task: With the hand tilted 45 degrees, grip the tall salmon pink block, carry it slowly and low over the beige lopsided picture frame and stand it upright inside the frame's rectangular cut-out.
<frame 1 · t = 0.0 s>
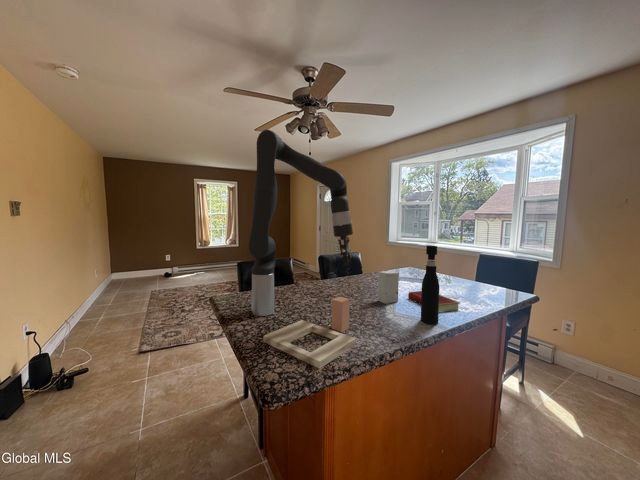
hand: (347, 264, 103), 22 cm above the countertop, tool pointing down, fingers open, 8 cm apart
hardcover book: (432, 305, 124), on the countertop
wine bottle: (429, 322, 102), on the countertop
tall salmon pink block: (340, 328, 95), on the countertop
skincare box: (388, 301, 128), on the countertop
beige lopsided picture frame: (309, 343, 83), on the countertop
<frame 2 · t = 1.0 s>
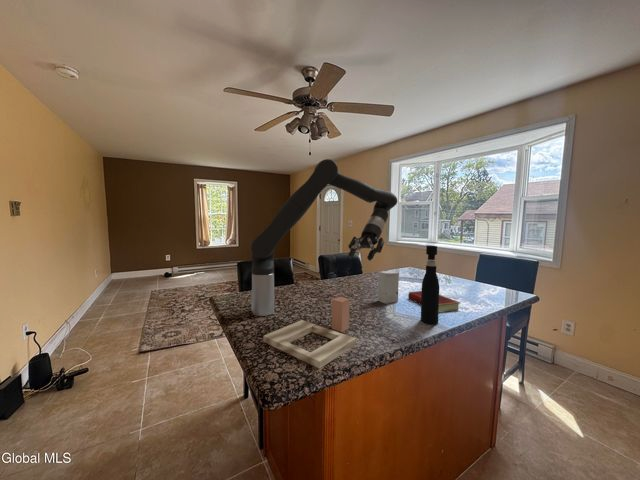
hand: (359, 258, 103), 25 cm above the countertop, tool tilted 45°, fingers open, 8 cm apart
nothing on the countertop moved.
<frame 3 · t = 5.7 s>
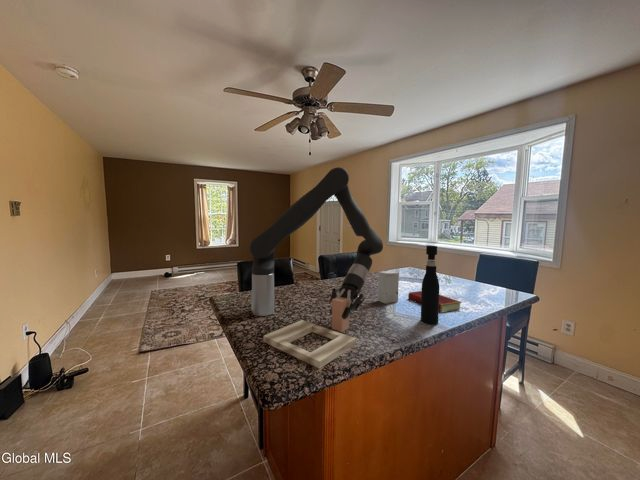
hand: (337, 316, 93), 5 cm above the countertop, tool tilted 45°, fingers closed on tall salmon pink block, 4 cm apart
tall salmon pink block: (340, 328, 95), on the countertop, touching gripper
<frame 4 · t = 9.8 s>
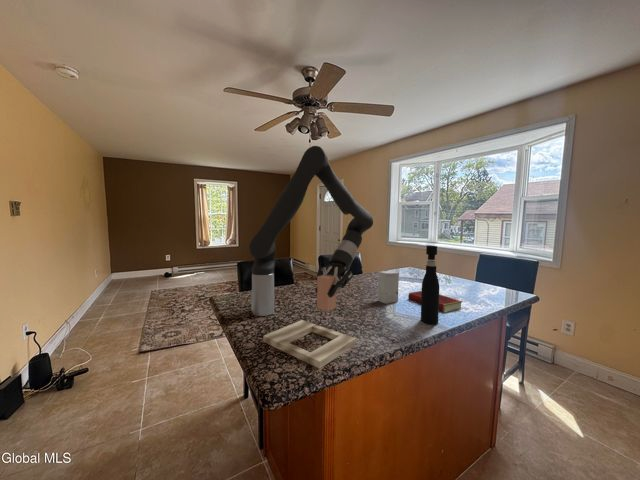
hand: (323, 294, 86), 15 cm above the countertop, tool tilted 45°, fingers closed on tall salmon pink block, 4 cm apart
tall salmon pink block: (326, 308, 88), point 10 cm above the countertop, touching gripper
when the fingers open (7 cm above the countertop, at t = 14.1 s): tall salmon pink block drops 1 cm, resting in beige lopsided picture frame.
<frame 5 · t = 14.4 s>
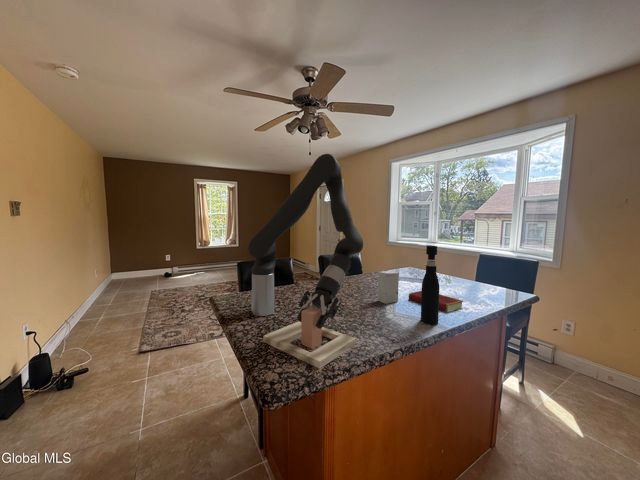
hand: (308, 324, 81), 7 cm above the countertop, tool tilted 45°, fingers open, 7 cm apart
tall salmon pink block: (311, 343, 83), resting in beige lopsided picture frame
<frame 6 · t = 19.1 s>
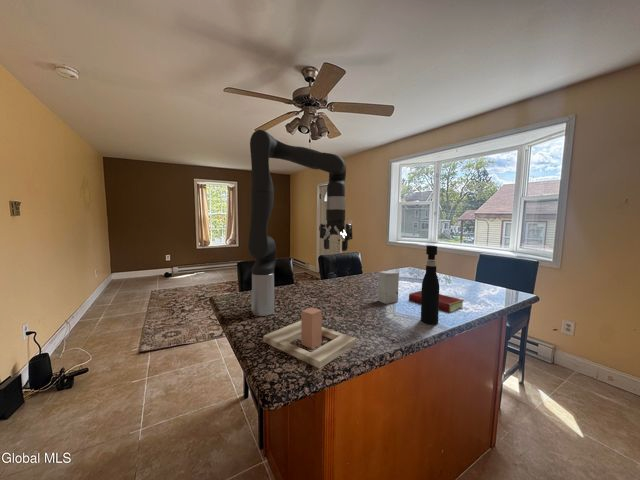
hand: (335, 249, 102), 28 cm above the countertop, tool pointing down, fingers open, 8 cm apart
at the end: tall salmon pink block inside the target area on the beige lopsided picture frame (0.1 cm from its centre), point 0.0 cm above the beige lopsided picture frame's base; tall salmon pink block tilted 0°; the gripper is holding nothing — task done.
